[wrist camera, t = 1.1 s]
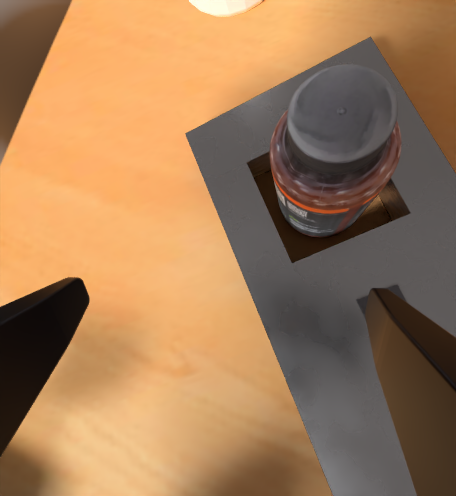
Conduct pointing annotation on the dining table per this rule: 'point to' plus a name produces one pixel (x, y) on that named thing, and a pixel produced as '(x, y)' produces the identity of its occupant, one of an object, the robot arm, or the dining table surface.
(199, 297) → the dining table surface
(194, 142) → the grey fixture plate
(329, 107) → the supplement bottle
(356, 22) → the dining table surface
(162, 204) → the dining table surface
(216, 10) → the bottle
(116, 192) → the dining table surface
